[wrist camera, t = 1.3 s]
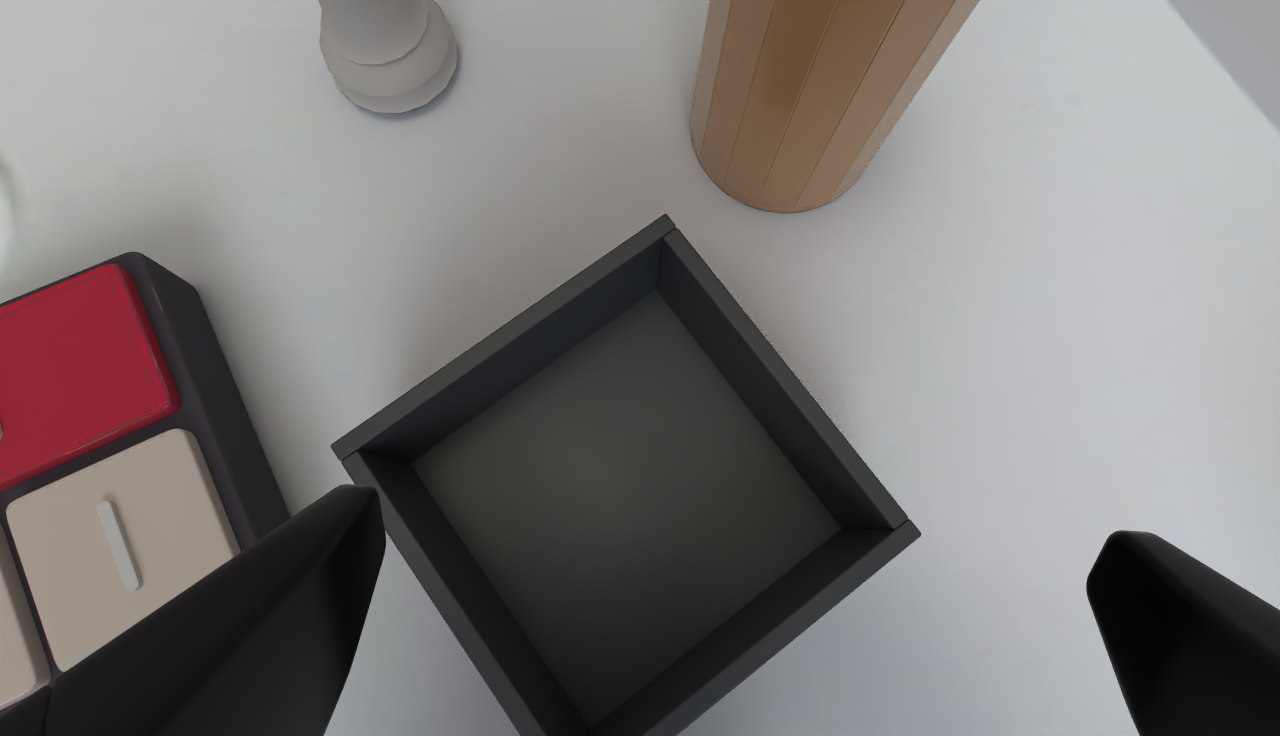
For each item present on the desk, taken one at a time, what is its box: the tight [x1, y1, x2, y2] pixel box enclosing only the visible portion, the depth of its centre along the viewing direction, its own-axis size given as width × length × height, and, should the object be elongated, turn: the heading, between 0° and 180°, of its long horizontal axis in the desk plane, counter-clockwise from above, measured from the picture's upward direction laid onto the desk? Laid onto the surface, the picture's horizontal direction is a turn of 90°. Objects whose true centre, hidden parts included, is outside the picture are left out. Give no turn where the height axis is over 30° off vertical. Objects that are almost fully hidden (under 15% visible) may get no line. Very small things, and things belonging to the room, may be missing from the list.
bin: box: [331, 214, 921, 736], centre depth 20 cm, size 10×10×5 cm
